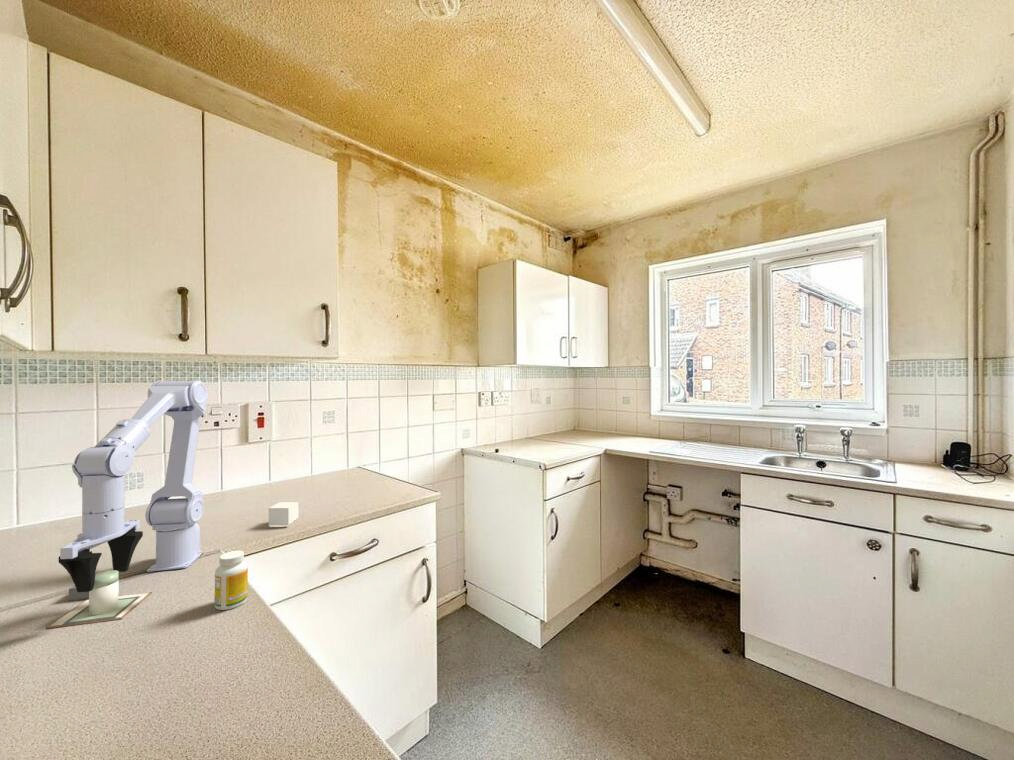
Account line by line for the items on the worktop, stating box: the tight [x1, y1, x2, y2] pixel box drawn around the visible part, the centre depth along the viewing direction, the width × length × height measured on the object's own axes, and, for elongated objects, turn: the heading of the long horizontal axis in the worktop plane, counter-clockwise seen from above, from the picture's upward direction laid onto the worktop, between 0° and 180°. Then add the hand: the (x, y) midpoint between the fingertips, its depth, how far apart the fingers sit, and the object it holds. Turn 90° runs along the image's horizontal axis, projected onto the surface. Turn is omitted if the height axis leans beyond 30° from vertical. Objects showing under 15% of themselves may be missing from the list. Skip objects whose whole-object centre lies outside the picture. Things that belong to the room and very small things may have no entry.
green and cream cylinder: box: [88, 569, 120, 615], centre depth 77 cm, size 4×4×6 cm
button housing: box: [68, 584, 89, 602], centre depth 84 cm, size 5×5×2 cm
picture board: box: [45, 591, 153, 630], centre depth 78 cm, size 10×11×1 cm
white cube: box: [268, 501, 300, 526], centre depth 125 cm, size 6×6×6 cm
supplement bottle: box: [214, 550, 249, 611], centre depth 80 cm, size 5×5×10 cm
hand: (103, 580), depth 77 cm, fingers open, 7 cm apart
